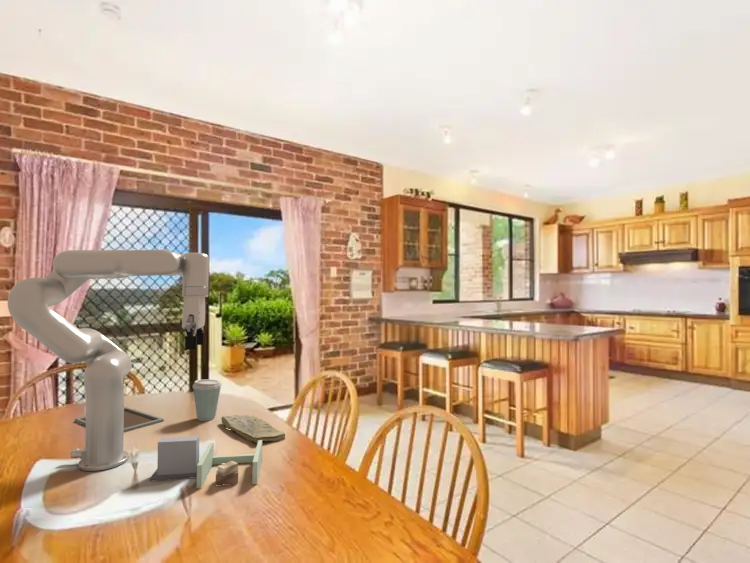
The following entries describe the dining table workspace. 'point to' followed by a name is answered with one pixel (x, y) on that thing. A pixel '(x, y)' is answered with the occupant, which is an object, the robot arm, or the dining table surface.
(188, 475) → the panel
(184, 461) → the tall grey upright block
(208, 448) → the rack
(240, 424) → the stone slab
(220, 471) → the offcut
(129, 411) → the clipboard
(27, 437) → the dining table surface
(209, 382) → the disposable coffee cup
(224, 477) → the offcut
